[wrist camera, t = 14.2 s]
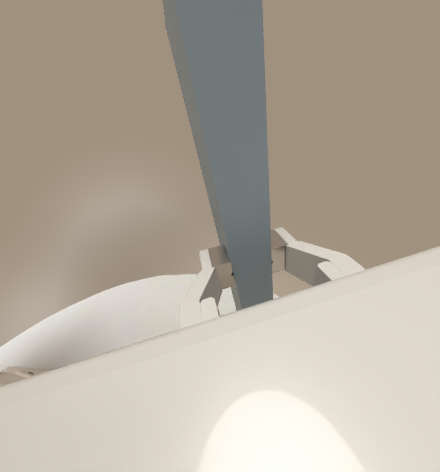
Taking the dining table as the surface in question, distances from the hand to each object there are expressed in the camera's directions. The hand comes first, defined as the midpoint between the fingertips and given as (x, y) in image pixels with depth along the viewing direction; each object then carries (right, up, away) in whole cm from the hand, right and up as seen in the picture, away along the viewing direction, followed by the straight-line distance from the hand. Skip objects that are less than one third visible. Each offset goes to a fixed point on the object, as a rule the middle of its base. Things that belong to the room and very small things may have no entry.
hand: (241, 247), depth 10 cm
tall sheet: (+2, -9, +7) cm, 12 cm away
